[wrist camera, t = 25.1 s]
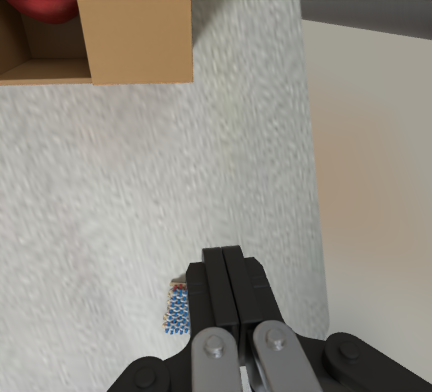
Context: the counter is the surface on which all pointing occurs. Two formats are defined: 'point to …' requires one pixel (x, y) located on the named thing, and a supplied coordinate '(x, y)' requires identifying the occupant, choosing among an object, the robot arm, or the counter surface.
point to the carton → (41, 50)
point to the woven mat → (177, 309)
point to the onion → (47, 9)
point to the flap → (138, 41)
